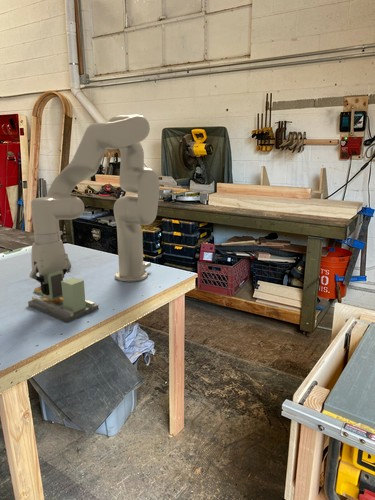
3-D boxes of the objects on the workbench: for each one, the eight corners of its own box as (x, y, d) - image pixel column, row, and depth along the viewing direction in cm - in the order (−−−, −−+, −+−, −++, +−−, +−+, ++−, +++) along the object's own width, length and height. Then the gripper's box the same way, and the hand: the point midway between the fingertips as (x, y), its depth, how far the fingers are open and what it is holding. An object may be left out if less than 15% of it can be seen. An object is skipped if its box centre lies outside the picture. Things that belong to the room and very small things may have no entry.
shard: (58, 283, 142) (57, 279, 142) (72, 287, 138) (71, 283, 138) (33, 292, 133) (32, 288, 133) (47, 297, 129) (46, 292, 129)
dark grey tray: (60, 294, 131) (59, 287, 130) (98, 309, 120) (98, 301, 119) (28, 305, 122) (27, 298, 121) (67, 323, 110) (66, 314, 109)
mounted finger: (74, 303, 120) (72, 276, 118) (85, 307, 117) (83, 280, 115) (62, 307, 117) (59, 280, 114) (73, 312, 114) (71, 284, 111)
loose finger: (54, 292, 126) (52, 267, 123) (65, 296, 123) (62, 270, 120) (42, 296, 122) (39, 270, 120) (53, 301, 119) (50, 274, 117)
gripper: (63, 230, 126) (67, 281, 131) (15, 241, 113) (22, 297, 118) (77, 234, 122) (81, 286, 127) (29, 245, 109) (36, 303, 114)
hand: (52, 291), depth 122 cm, fingers closed on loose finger, 4 cm apart
